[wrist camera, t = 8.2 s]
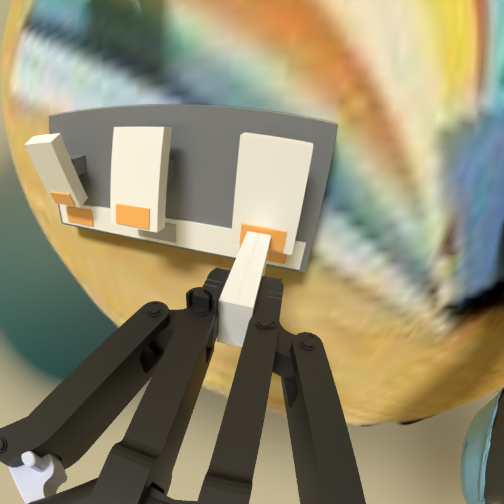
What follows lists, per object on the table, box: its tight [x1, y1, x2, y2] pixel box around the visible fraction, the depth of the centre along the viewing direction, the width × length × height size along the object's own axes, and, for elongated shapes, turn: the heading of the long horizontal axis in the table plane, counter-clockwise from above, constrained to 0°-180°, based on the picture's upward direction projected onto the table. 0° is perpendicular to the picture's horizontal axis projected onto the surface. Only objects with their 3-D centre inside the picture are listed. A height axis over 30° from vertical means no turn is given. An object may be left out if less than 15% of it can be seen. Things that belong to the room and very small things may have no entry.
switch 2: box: [231, 132, 313, 255], centre depth 16 cm, size 4×7×1 cm, turn 172°
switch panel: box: [49, 104, 338, 273], centre depth 20 cm, size 25×12×4 cm, turn 82°
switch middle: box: [110, 127, 172, 233], centre depth 17 cm, size 4×7×1 cm, turn 172°
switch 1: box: [25, 133, 88, 207], centre depth 18 cm, size 4×7×1 cm, turn 172°
